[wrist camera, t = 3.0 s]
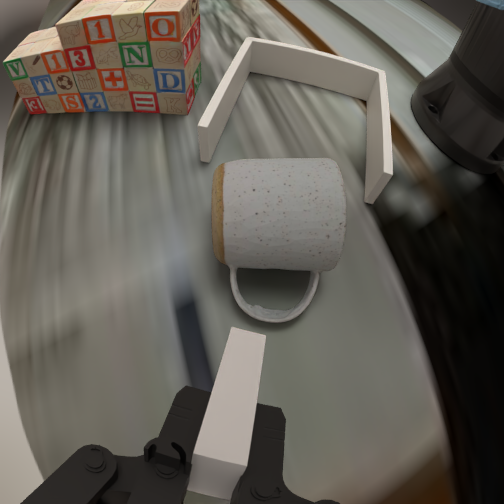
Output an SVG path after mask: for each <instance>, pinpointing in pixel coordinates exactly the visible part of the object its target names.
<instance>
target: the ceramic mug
mask: <svg viewBox="0 0 504 504" xmlns="http://www.w3.org/2000/svg"><path fill="white" fill-rule="evenodd" d="M346 214H347V209H346V195H345V186H344V181H343V178H342V175H341V171H340V169H339V167H338V165H337V163H336V162H335V161H334V160H332V159H330V158H279V159H241V160H236V161H231V162H226V163H223V164H221V165H219V166H218V167H217V168H216V170H215V172H214V176H213V185H212V240H213V250H214V254H215V256H216V258H217V259H218V260H219V261H220V262H221V263H223V264H225V265H228V267H229V268H230V283H231V288H232V292H233V295H234V298H235V300H236V302H237V303H238V305H239V306H240V308H241V309H242V310H243V311H244V312H245V313H247V314H248V315H249V316H251V317H253V318H254V319H258V320H260V321H265V322H273V323H280V322H286V321H290V320H292V319H294V318H295V317H297V316H299V315H300V314H301V313H302V312H303V311H304V310H305V309H306V308H307V306H308V305H309V304H310V303H311V301H312V299H313V296H314V294H315V292H316V289H317V286H318V282H319V277H320V272H322V271H330V270H332V269H333V268H334V267H335V266H336V265H337V263H338V261H339V259H340V257H341V253H342V249H343V245H344V239H345V232H346ZM237 268H259V269H268V268H271V269H285V270H305V271H311V276H310V281H309V285H308V288H307V290H306V292H305V295H304V297H303V298H302V300H301V301H300V302H299V304H298V305H297V306H295V307H294V308H293V309H288V310H285V311H284V310H272V309H266V308H262V307H261V306H260V305H254V306H252V305H250V304H247V303H246V302H245V300H244V299H243V297H242V296H241V295H240V292H239V288H238V285H237V279H236V273H237Z"/></svg>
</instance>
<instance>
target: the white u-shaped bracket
mask: <svg viewBox="0 0 504 504" xmlns="http://www.w3.org/2000/svg"><path fill="white" fill-rule="evenodd" d="M250 72H254V73H259V74H264V75H270V76H274V77H279V78H284V79H288V80H293V81H297V82H301V83H305V84H309V85H313V86H317V87H321V88H325V89H328V90H332V91H335V92H339V93H342V94H346V95H349V96H352V97H355V98H359V99H362V100H365V101H367V146H366V177H365V196H364V202H367V203H370V204H373V203H374V201H375V200H376V198H377V197H378V196H379V194H380V193H381V191H382V190H383V188H384V187H385V186H386V184H387V183H388V181H389V180H390V178H391V177H392V175H393V162H392V141H391V126H390V113H389V102H388V93H387V84H386V76H385V71H382V70H380V69H377V68H374V67H371V66H368V65H365V64H362V63H359V62H355V61H352V60H349V59H346V58H342V57H339V56H335V55H332V54H328V53H324V52H320V51H316V50H312V49H308V48H304V47H299V46H295V45H290V44H285V43H280V42H275V41H270V40H264V39H258V38H252V37H247V38H246V39H245V41H244V43H243V44H242V46H241V48H240V49H239V51H238V53H237V54H236V56H235V58H234V60H233V61H232V63H231V65H230V66H229V68H228V70H227V72H226V74H225V75H224V77H223V79H222V81H221V82H220V84H219V86H218V88H217V90H216V92H215V93H214V95H213V97H212V99H211V101H210V103H209V105H208V106H207V108H206V110H205V112H204V114H203V116H202V118H201V120H200V122H199V124H198V136H199V146H200V157H201V161H203V162H208V163H210V160H211V158H212V156H213V153H214V151H215V149H216V146H217V144H218V141H219V139H220V137H221V134H222V132H223V130H224V128H225V125H226V123H227V121H228V118H229V116H230V114H231V112H232V109H233V107H234V105H235V103H236V101H237V98H238V96H239V94H240V92H241V90H242V88H243V85H244V83H245V81H246V79H247V77H248V75H249V73H250Z"/></svg>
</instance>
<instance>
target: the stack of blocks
mask: <svg viewBox="0 0 504 504" xmlns="http://www.w3.org/2000/svg"><path fill="white" fill-rule="evenodd" d="M3 65H4V67H5V68H6V71H7V73H8V75H9V77H10V79H11V80H12V81H13V83H14V85H15V87H16V89H17V91H18V93H19V95H20V97H21V98H22V100H23V102H24V104H25V106H26V108H27V110H28V111H29V113H30V114H40V113H64V112H86V111H88V112H94V111H134V112H148V113H165V114H180V115H188V113H189V111H190V108H191V106H192V103H193V101H194V98H195V94H196V92H197V90H198V87H199V85H200V83H201V62H200V14H199V0H83V1H82V2H80V3H79V4H78V5H77V6H76V7H74V8H73V9H72V10H71V11H70V12H69V13H68V14H67V15H66V16H64V17H63V18H62V19H61V20H60V21H59V22H58V23H56V27H53V28H49V29H45V30H41V31H37V32H33V33H31V34H30V35H29V36H27V37H26V38H25V39H24V40H23V42H21V43H20V44H19V45H18V47H17V48H16V49H15V50H14V51H13V52H12V53H11V54H10V55H9V56H8V57H7V58H6V59H5V60H4V62H3Z"/></svg>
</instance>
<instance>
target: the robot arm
mask: <svg viewBox="0 0 504 504" xmlns="http://www.w3.org/2000/svg"><path fill="white" fill-rule="evenodd" d="M411 105H412V110H413V113H414V115H415V117H416V119H417V121H418V123H419V124H420V126H421V127H422V129H423V130H424V131H425V133H426V134H427V135H428V136H429V137H430V139H431V140H432V141H433V142H434V143H435V144H436V145H437V146H438V147H439V148H440V149H441V150H442V151H443V152H445V153H446V154H447V155H448V156H449V157H451V158H452V159H453V160H455V161H456V162H458V163H459V164H461V165H462V166H464V167H466V168H468V169H470V170H472V171H475V172H477V173H481V174H493V173H495V172H496V171H497V170H498V169H499V168H500V167H501V166H502V165H503V164H504V0H477V3H476V5H475V7H474V9H473V11H472V13H471V15H470V17H469V20H468V22H467V24H466V26H465V28H464V30H463V32H462V34H461V36H460V38H459V40H458V41H457V43H456V45H455V47H454V49H453V51H452V53H451V55H450V57H449V58H448V60H447V61H445V62H444V63H443V64H442V65H441V66H439V67H438V68H437V69H436V70H434V71H433V72H432V73H431V74H430V75H428V76H427V77H426V78H425V79H423V80H422V81H421V82H420V83H419V85H418V86H417V88H416V90H415V92H414V94H413V96H412V99H411ZM265 340H266V335H262V334H258V333H254V332H250V331H246V330H242V329H238V328H234V327H232V328H231V331H230V334H229V338H228V341H227V344H226V347H225V351H224V354H223V357H222V361H221V364H220V367H219V370H218V374H217V377H216V380H215V383H214V387H213V390H212V393H211V392H207V391H203V390H200V389H196V388H193V387H189V386H185V387H184V388H183V389H181V390H180V391H179V392H178V393H177V394H176V396H175V399H174V401H173V403H172V406H171V408H170V410H169V413H168V415H167V418H166V420H165V422H164V425H163V427H162V430H161V432H160V434H159V437H158V438H154V439H153V440H151V441H149V442H148V443H147V444H146V446H145V447H144V455H142V456H138V457H127V456H117V455H113V454H112V453H111V452H110V451H109V450H108V449H106V448H104V447H102V446H100V445H93V444H91V445H86V446H83V447H81V448H80V449H78V450H77V451H76V452H75V453H74V454H73V455H72V456H71V457H70V458H69V459H68V460H67V461H65V462H64V463H63V464H62V465H61V466H60V467H59V468H58V469H57V470H56V471H55V472H54V473H53V474H52V475H51V476H50V477H48V478H47V479H46V480H45V481H44V482H43V483H42V484H41V485H40V486H39V487H38V488H37V489H36V490H35V491H34V492H33V493H31V494H30V495H29V496H28V497H27V498H26V499H25V500H24V501H23V502H22V503H20V504H183V502H184V497H185V494H186V491H187V490H189V491H192V492H196V493H200V494H204V495H208V496H212V497H217V498H221V499H226V500H230V499H231V502H230V504H339V503H338V502H335V501H333V500H320V501H317V502H315V503H314V502H311V501H309V500H306V499H304V498H301V497H299V496H297V495H295V494H293V493H292V492H291V491H290V490H288V488H287V487H286V485H285V484H284V481H283V476H282V472H283V457H284V440H285V423H286V419H285V417H284V414H283V412H282V410H281V408H278V407H273V406H268V405H263V404H259V403H257V397H258V391H259V383H260V376H261V369H262V362H263V355H264V347H265Z"/></svg>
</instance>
